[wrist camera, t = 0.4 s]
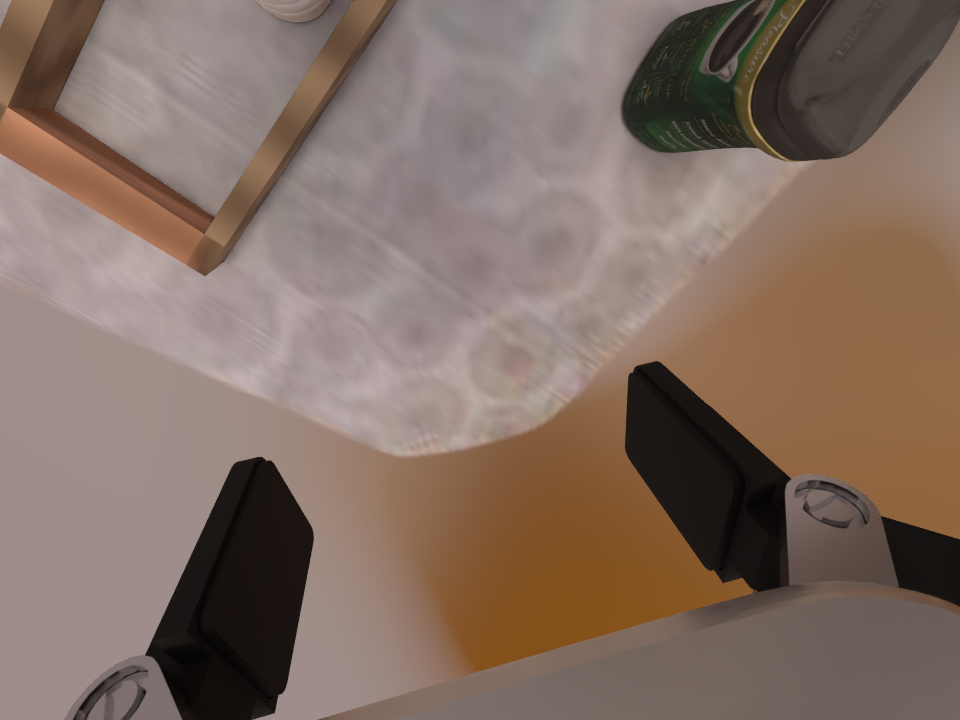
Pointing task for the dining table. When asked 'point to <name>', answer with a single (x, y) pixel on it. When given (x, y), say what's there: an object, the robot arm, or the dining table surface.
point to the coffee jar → (785, 74)
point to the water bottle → (294, 9)
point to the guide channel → (115, 180)
